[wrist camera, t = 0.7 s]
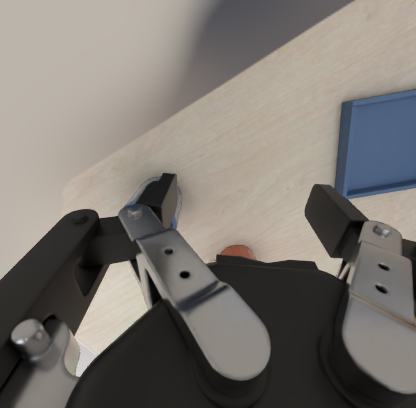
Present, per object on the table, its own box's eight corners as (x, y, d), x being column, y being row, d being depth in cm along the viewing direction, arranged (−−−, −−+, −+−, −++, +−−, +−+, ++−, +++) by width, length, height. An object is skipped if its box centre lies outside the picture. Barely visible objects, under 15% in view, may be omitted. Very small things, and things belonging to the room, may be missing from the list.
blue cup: (133, 180, 30) (110, 204, 22) (176, 173, 29) (169, 194, 22) (145, 219, 32) (129, 252, 24) (185, 212, 32) (182, 244, 24)
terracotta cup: (216, 248, 35) (221, 286, 27) (253, 242, 35) (269, 279, 27) (221, 276, 38) (227, 319, 30) (255, 271, 37) (271, 312, 30)
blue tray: (342, 102, 27) (352, 101, 25) (445, 83, 26) (463, 81, 24) (334, 195, 32) (342, 200, 30) (419, 180, 32) (433, 184, 30)
